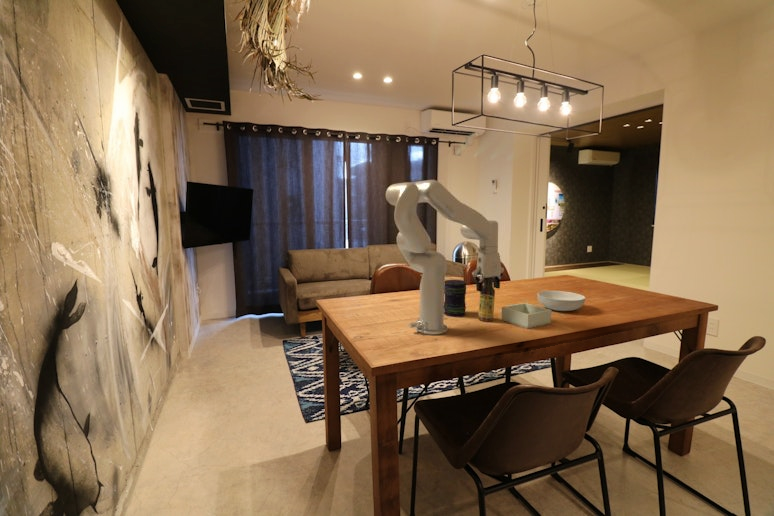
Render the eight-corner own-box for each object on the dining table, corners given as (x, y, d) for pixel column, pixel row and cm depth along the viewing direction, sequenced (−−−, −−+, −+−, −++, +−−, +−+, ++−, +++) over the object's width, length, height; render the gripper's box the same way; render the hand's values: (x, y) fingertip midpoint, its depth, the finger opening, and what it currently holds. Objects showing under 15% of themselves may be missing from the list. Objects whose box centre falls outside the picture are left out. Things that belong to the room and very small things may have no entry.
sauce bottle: (476, 320, 160) (478, 275, 157) (480, 317, 166) (481, 273, 163) (492, 323, 157) (493, 276, 154) (495, 319, 163) (496, 274, 160)
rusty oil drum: (448, 309, 177) (449, 279, 175) (468, 312, 172) (469, 281, 170) (440, 315, 169) (440, 282, 167) (461, 318, 164) (461, 285, 162)
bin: (527, 328, 149) (528, 314, 149) (501, 319, 162) (501, 306, 161) (550, 323, 156) (551, 310, 155) (524, 315, 168) (524, 302, 167)
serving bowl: (593, 315, 168) (594, 300, 167) (546, 315, 168) (547, 300, 167) (571, 303, 188) (572, 290, 187) (529, 303, 189) (530, 290, 188)
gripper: (479, 252, 150) (478, 294, 152) (510, 249, 158) (509, 288, 161) (466, 250, 156) (466, 290, 159) (497, 247, 165) (496, 285, 167)
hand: (488, 289), depth 160 cm, fingers open, 9 cm apart
